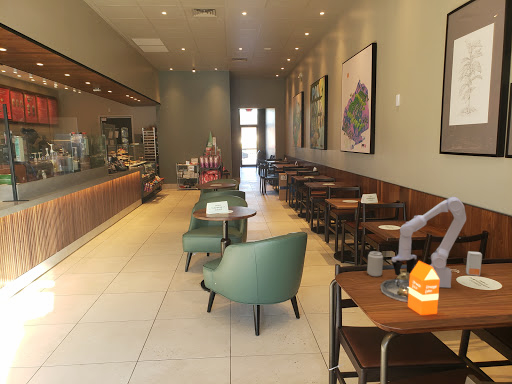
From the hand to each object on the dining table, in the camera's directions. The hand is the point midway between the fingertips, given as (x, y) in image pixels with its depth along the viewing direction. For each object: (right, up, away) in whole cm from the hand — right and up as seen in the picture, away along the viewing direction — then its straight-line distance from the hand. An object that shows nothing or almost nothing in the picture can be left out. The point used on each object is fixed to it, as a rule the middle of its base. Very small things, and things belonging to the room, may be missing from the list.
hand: (403, 274), depth 192 cm
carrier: (-4, -5, -16) cm, 17 cm away
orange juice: (-5, -8, -34) cm, 35 cm away
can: (-12, -2, +8) cm, 15 cm away
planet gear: (0, -3, 0) cm, 3 cm away
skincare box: (+42, -3, +10) cm, 43 cm away
